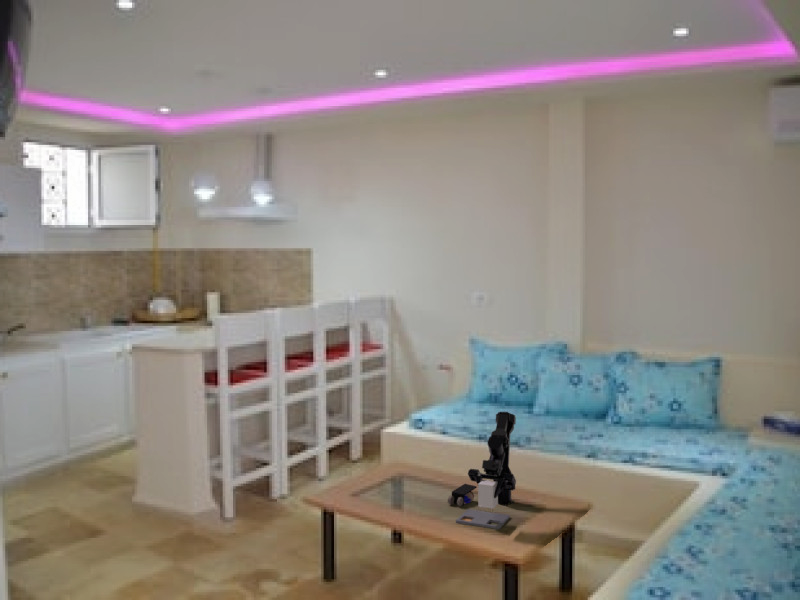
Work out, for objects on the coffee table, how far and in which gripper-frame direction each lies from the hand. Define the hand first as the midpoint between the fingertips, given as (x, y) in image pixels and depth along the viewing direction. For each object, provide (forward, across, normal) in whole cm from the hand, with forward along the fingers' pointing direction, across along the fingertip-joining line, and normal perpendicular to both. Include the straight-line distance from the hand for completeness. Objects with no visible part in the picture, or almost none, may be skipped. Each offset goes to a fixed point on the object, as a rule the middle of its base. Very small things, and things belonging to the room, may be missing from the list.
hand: (486, 496), depth 279 cm
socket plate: (+6, -4, +13) cm, 14 cm away
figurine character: (-6, -19, +25) cm, 32 cm away
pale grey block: (+3, 0, +5) cm, 6 cm away
